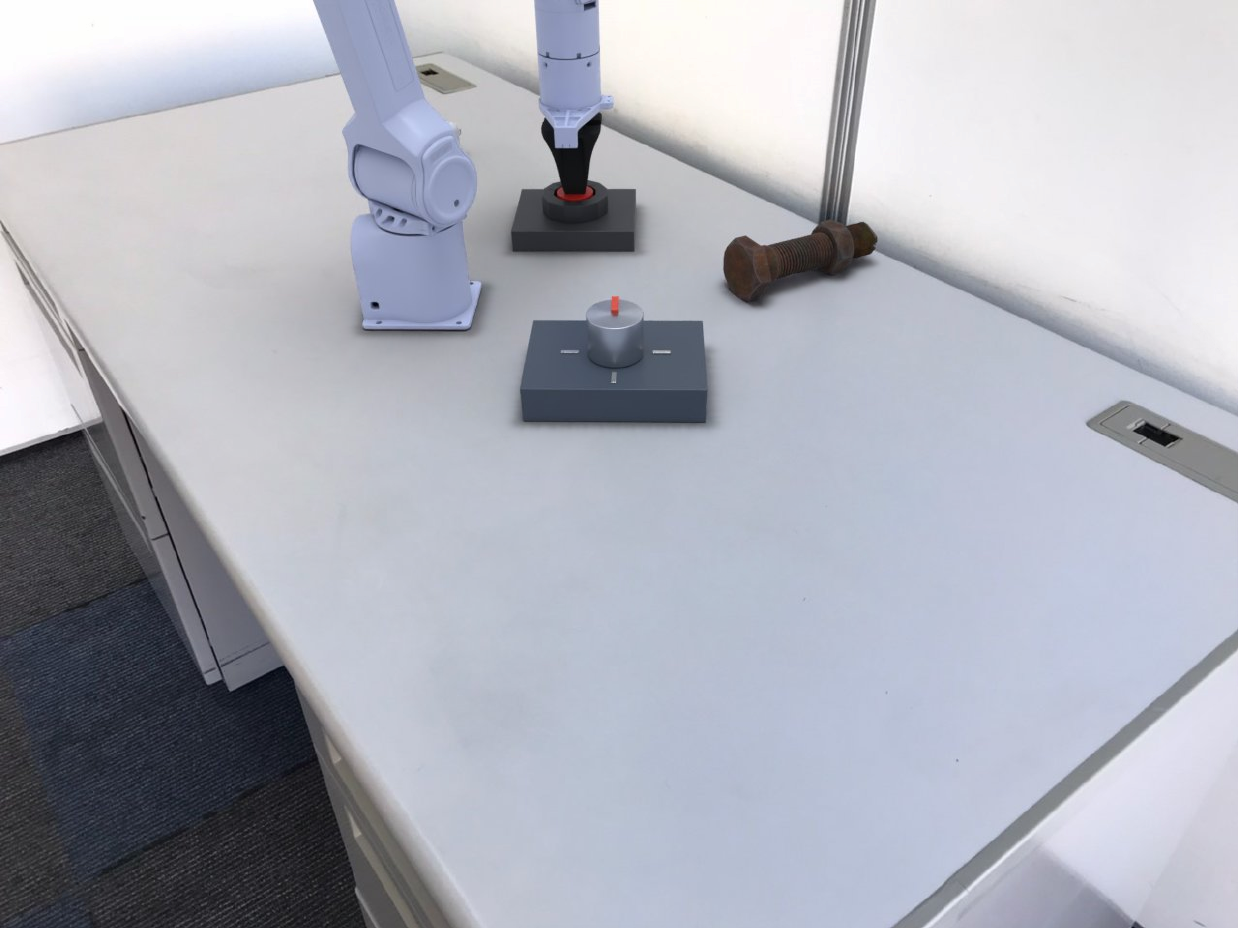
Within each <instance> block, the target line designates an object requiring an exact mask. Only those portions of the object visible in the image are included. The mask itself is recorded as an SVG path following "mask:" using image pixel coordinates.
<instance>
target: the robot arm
mask: <svg viewBox="0 0 1238 928" xmlns="http://www.w3.org/2000/svg"><path fill="white" fill-rule="evenodd" d="M312 1H313V2H312V3H313V5H314V7H315V10H316V12H317V15H318V18H319V20H320V23H321V26H322V28H323V31H324V34H325V36H326V39H327V42H328V44H329V48H330V50H331V51H332V55H333V57H334V61H335V63H336V65H337V69H338V72H339V74H340V77H341V79H342V81H343V85H344V87H345V89H346V92H347V95H348V97H349V100H350V102H351V105H352V108H353V111H354V113H353V114H352V115H351V117H350V118H349V119H348V121H347V122H346V123H345V125H344V127H342V129H341V133H342V137H343V139H344V141H345V144H346V148H347V174H348V178H349V179H348V180H349V182H350V184H351V186H352V187H353V189H354V191H355V192H356V193H357V194H358V195H359V196H360V197H361V198H363V199H366V200H367V203H368V207H369V208H368V209H369V213H363V214H362V213H361V214H358V215H356V216H355V218H354V219H353V222H352V226H351V230H350V256H351V263H352V268H353V272H354V273H353V274H354V276H355V278H354V279H355V283H356V288H357V293H358V298H359V302H360V303H359V304H360V308H361V313H362V317H363V321H362V323H361V326H362V328H363V329H364V330H469V329H470V328H471V327H472V323H473V320H474V317H475V312H476V309H477V305H478V301H479V298H480V296H481V295H480V294H481V291H482V288H483V287H482V286H483V285H482V282H481V281H479V280H470V272H469V271H470V270H469V264H468V256H467V255H468V254H467V247H466V246H467V245H466V239H465V230H464V224H463V223H464V220H466V219H467V218H468V213H469V212H470V210H471V208H472V206H473V204H474V201H475V198H476V195H477V190H478V174H477V173H478V172H477V168H476V165H475V163H474V161H473V159H472V158H471V156H470V155H469V154H467V152H465V150H463V148H462V147H461V144H460V145H459V143H458V141H457V138H456V134H455V131H454V129H453V128H452V126H451V125H450V124H449V123H448V122H449V121H447V119H445V117H444V116H442V114H441V113H440V112H439V111H438V110H437V109H436V108H434V106H433V105H432V104H431V103H430V102H429V100H427V98H426V97H425V94H424V90H423V87H422V84H421V80H420V78H419V75H418V71H417V67H416V65H415V62H414V58H413V56H412V53H411V52H412V51H411V49H410V46H409V43H408V40H407V37H406V32H405V30H404V26H403V23H402V21H401V18H400V14H399V11H398V8H397V5H396V1H395V0H312ZM533 4H534V5H533V7H534V20H535V21H534V22H535V34H536V50H537V54H536V55H537V67H538V79H539V80H538V82H539V84H538V85H539V98H538V109H539V111H540V113H541V114H542V115H543V117H544V118H543V121H542V122H541V126H540V133H541V137H542V139H543V141H544V142H545V143H546V145H547V147H548V149H549V150H550V152H551V155H552V157H553V160H554V163H555V166H556V170H557V173H558V177H559V181H560V182H561V185H562V188H563V191H564V194H585V192H586V188H587V182H588V180H589V174H590V166H591V165H590V164H591V159H592V155H593V151H594V148H595V145H596V143H597V141H598V139H599V137H600V135H601V131H602V122H603V114H602V113H601V111H602V110H612V109H613V108H614V103H615V101H614V96H613V95H611V94H602V83H601V82H602V81H601V80H602V79H601V78H602V77H601V40H600V39H601V37H600V36H601V35H600V1H599V0H533Z"/></svg>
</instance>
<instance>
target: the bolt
mask: <svg viewBox="0 0 1238 928" xmlns="http://www.w3.org/2000/svg"><path fill="white" fill-rule="evenodd" d="M878 240H879V239H878V235H877V234H876V233H875V231H874V230H873V229H872V228H871V226H870V225H869V224H868V223H866V222H865V221H859V222H857V223H852V224H847V225H844V224H843V223H842V222H839V221H837V220H834V219H827V220H824V221H823V220H822V221H820V222H819V223H818V224H817V225H816V226H815V228H813V230H812V231H811V233H810V234H807V235H803V236H799V237H794V238H790V239H787V240H783V241H778V242H775V243H771V244H763V245H761V244H760V243H758V242H757V241H755V240H753V239H752V238H750V236H747V235H741V236H738V237H735V238H733V239H732V241H730V243H729V244H728V245H727V246H726V248H725V250H724V254H723V260H722V261H723V264H722V266H723V267H722V270H723V271H722V272H723V275H724V279H725V281H726V283H727V285H728V287H729V289H730V291H731V293H733V295H734V296H735V297H737V298H738V299H740V300H743V301H745V302H748V303H751V302H755V301H758V300H760V299H761V297H762V296H763V294H764V292H765V291H766V290H767V288H768V287H769V285H770V284H771V283H773V282H774V281H776V280H779V279H784V278H787V277H790V276H792V275H793V276H794V275H799V274H802V273H807V272H810V271H814V270H817V269H818V270H820V271H821V272H824V273H825V274H829V275H832V276H833V275H836V274H839V273H842V272H843V271H845V269H847V267H848V266H849V265H850V264H851V263H852V261H853V260H854V259H859V258H862V257H863V258H864V257H866V256H870V255H872V254H873V253H874V251H875V250H876V246H877V245H876V244H877V243H878V242H879V241H878Z"/></svg>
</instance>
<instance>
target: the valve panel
mask: <svg viewBox="0 0 1238 928" xmlns="http://www.w3.org/2000/svg"><path fill="white" fill-rule="evenodd" d="M704 330H705V329H704V321H703V320H644V354H643V356H642V358H641V359H640V360H639V361H638V362H636V363H634V364H632V365H630V366H626V367H620V368H610V367H604V366H600V365H598V364H596V363H594V362H593V361H592V360H591V359H590V358H589V356H588V350H587V325H586V319H581V320H580V319H578V320H577V319H576V320H575V319H571V320H569V319H562V320H561V319H533V320H532V325H531V330H530V336H529V340H528V346H527V350H526V355H525V361H524V366H523V372H522V378H521V382H520V388H519V392H520V405H521V415H522V421H523V422H610V423H611V422H627V423H629V422H631V423H634V422H636V423H638V422H639V423H640V422H641V423H706V422H707V408H708V407H707V406H708V378H707V377H708V376H707V363H706V347H705V333H704Z"/></svg>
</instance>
